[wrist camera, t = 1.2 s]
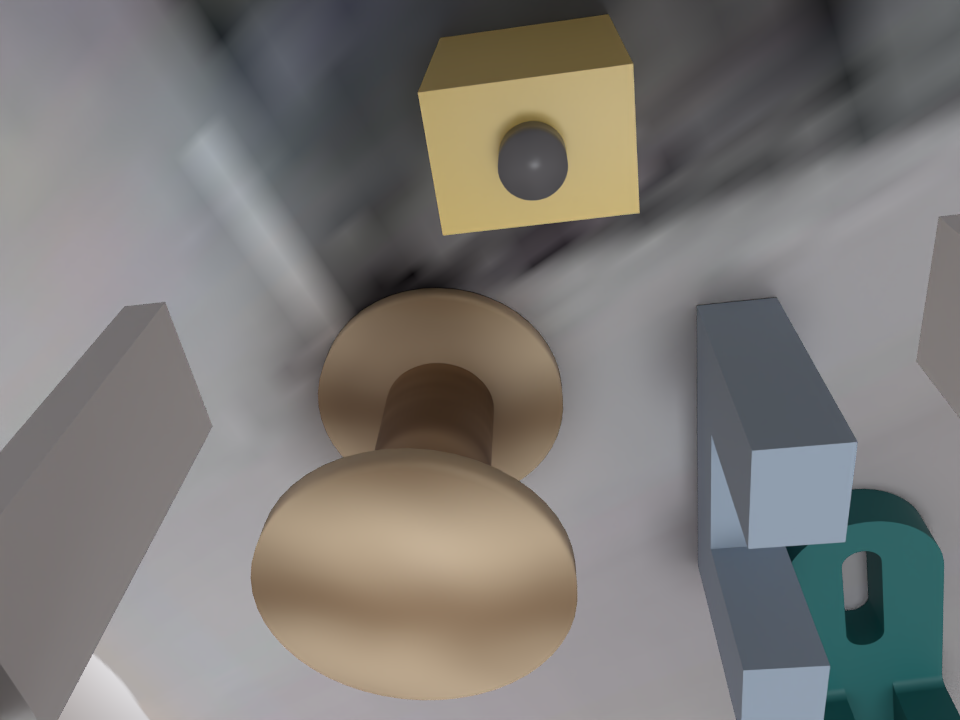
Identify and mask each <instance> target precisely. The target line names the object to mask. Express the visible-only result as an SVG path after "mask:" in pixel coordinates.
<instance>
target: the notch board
mask: <svg viewBox="0 0 960 720" xmlns="http://www.w3.org/2000/svg"><path fill="white" fill-rule="evenodd" d="M857 443H858V442H857V440H856V438H855V436H854V435H853V433H852V431H851V429H850V427H849V426H848V424H847V422H846V420H845V419H844V417H843V415H842V413H841V411H840V410H839V408H838V406H837V404H836V402H835V401H834V399H833V397H832V395H831V394H830V392H829V390H828V388H827V386H826V385H825V383H824V381H823V379H822V378H821V376H820V374H819V372H818V370H817V369H816V367H815V365H814V363H813V361H812V360H811V358H810V356H809V354H808V353H807V351H806V349H805V347H804V345H803V344H802V342H801V340H800V338H799V336H798V335H797V333H796V331H795V329H794V328H793V326H792V324H791V322H790V320H789V319H788V317H787V315H786V313H785V311H784V310H783V308H782V306H781V304H780V303H779V301H778V299H777V298H767V299H758V300H748V301H738V302H728V303H719V304H709V305H699V306H697V449H698V567H699V571H700V575H701V579H702V583H703V587H704V591H705V595H706V599H707V603H708V607H709V611H710V615H711V619H712V624H713V628H714V632H715V636H716V640H717V644H718V648H719V652H720V656H721V660H722V664H723V668H724V672H725V676H726V681H727V685H728V689H729V693H730V697H731V701H732V705H733V709H734V713H735V717H736V720H824V712H825V704H826V696H827V688H828V680H829V671H830V664H829V661H828V658H827V656H826V653H825V650H824V648H823V645H822V643H821V640H820V637H819V635H818V632H817V629H816V627H815V624H814V621H813V619H812V616H811V613H810V611H809V608H808V605H807V603H806V600H805V597H804V595H803V592H802V589H801V587H800V584H799V581H798V579H797V576H796V573H795V571H794V568H793V565H792V563H791V560H790V557H789V555H788V552H787V549H786V547H785V546H797V545H811V544H826V543H840V542H845V541H846V533H847V525H848V516H849V508H850V500H851V492H852V484H853V476H854V468H855V459H856V451H857Z"/></svg>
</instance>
